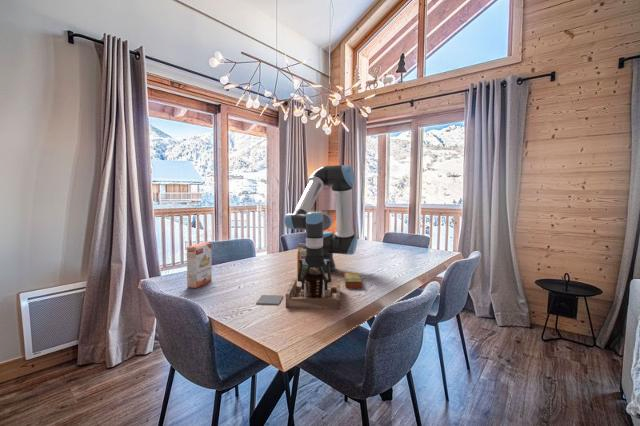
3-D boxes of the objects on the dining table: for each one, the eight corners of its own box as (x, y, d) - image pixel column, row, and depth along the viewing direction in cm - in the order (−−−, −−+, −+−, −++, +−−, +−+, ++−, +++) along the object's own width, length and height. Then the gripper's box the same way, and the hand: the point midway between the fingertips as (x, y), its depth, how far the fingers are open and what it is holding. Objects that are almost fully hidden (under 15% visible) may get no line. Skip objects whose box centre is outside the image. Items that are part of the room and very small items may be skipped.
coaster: (262, 296, 142) (262, 294, 142) (283, 296, 142) (283, 295, 142) (256, 304, 133) (256, 302, 132) (278, 305, 132) (278, 303, 132)
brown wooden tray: (293, 289, 152) (293, 278, 151) (340, 291, 150) (340, 279, 149) (285, 307, 129) (285, 293, 129) (339, 309, 128) (339, 295, 127)
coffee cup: (313, 295, 143) (313, 268, 142) (327, 299, 138) (327, 271, 137) (301, 300, 136) (301, 272, 135) (315, 305, 131) (315, 276, 130)
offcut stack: (302, 291, 149) (302, 279, 149) (330, 292, 148) (330, 280, 148) (300, 295, 144) (300, 283, 144) (330, 295, 143) (330, 283, 143)
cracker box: (197, 288, 152) (196, 247, 151) (186, 287, 154) (185, 247, 152) (212, 280, 166) (211, 242, 164) (202, 279, 167) (201, 242, 166)
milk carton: (318, 273, 180) (318, 242, 178) (316, 279, 169) (316, 245, 168) (300, 273, 181) (300, 241, 179) (297, 278, 170) (297, 245, 169)
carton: (358, 280, 169) (358, 272, 169) (362, 289, 153) (362, 281, 153) (343, 279, 170) (343, 272, 169) (345, 289, 154) (345, 281, 153)
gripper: (290, 248, 132) (290, 299, 134) (337, 248, 130) (337, 300, 132) (293, 244, 139) (293, 293, 141) (337, 245, 138) (337, 294, 140)
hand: (314, 296), depth 137 cm, fingers closed on coffee cup, 8 cm apart
